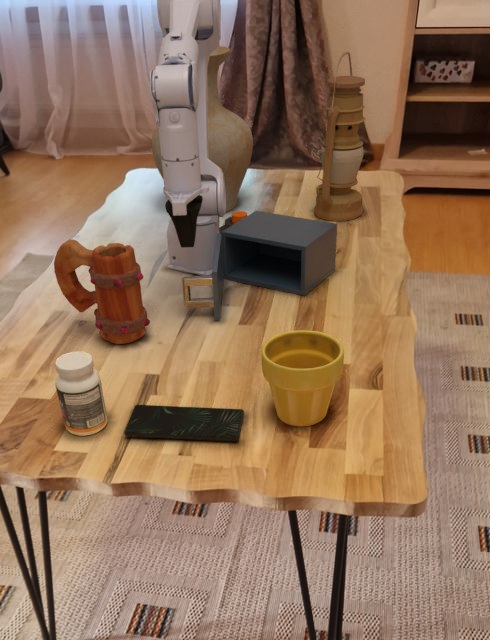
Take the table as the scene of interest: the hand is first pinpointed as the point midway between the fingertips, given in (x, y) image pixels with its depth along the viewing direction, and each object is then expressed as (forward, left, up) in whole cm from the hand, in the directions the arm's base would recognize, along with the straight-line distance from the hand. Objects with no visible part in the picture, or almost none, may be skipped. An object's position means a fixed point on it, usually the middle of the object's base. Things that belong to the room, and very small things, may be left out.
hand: (187, 245), depth 118 cm
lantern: (+2, +53, -11) cm, 54 cm away
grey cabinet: (+7, +18, -10) cm, 22 cm away
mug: (-6, -15, -11) cm, 19 cm away
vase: (-27, +45, -11) cm, 54 cm away
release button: (-10, +32, -8) cm, 34 cm away
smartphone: (+20, -31, -10) cm, 38 cm away
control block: (-10, +32, -10) cm, 35 cm away
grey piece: (+1, +3, -10) cm, 11 cm away
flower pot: (+32, -21, -11) cm, 40 cm away
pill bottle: (+8, -37, -11) cm, 39 cm away
